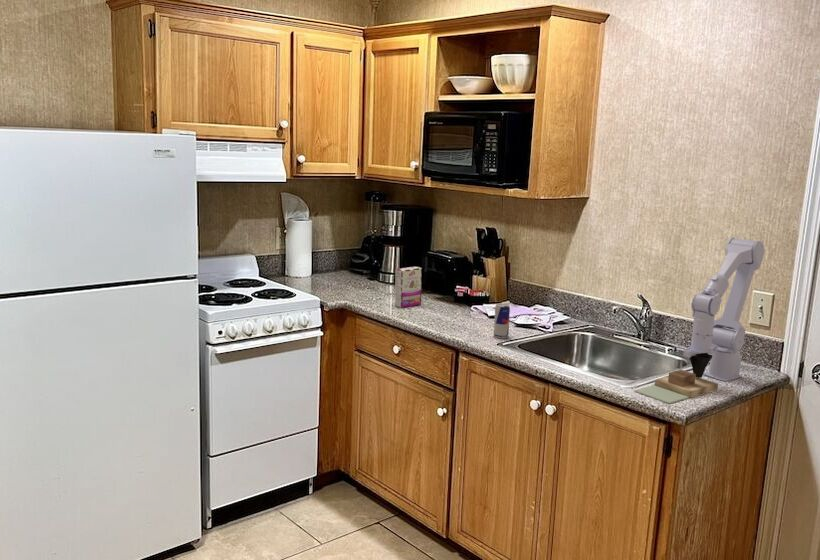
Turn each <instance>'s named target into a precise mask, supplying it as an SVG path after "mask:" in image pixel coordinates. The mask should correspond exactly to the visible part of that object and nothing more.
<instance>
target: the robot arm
mask: <svg viewBox="0 0 820 560" xmlns="http://www.w3.org/2000/svg"><path fill="white" fill-rule="evenodd" d="M724 249H725V251H724V253H725V254H724V255H725V257H724V260H723V261H722V264H721V265H720V267H719V269H718V272H717V273H716V274H714V275H711V276H710V277H709V279H708V281H707V283H706V284H705V286H704V287H703V289H702V290H701V292H700V293H698V294H697V293H696V294H695V295H694V297H693V298H692V302H691V304H690V305H691V310H692V317H693V323H692V333H691V342H690V346H689V347H687V348H686V349H684V350H683V352H682V353H683V354H682V356H683V357H684V358H687V359H689V361H690V364H691V367H692V373H694V374H696V377H698V378H702V377H703V376H706V377H709V378H713V379H715V380H720V381H723V382H728V381H732V380H735V379H739V378H741V377H743V375H741V374H740V371H741V363H742V354H741V352H740V350H741V349H742V348H743V346H744V343H745V335H746V329H745V327H744V326H743V325H742V323H741V322H740V318H741V315H742V312H743V310H744V306H745V302H746V300H747V296H748V294H749V290H750V287H751V284H752V280H753V279H754V278H753V277H754V274H755V271H757V270H759V269H760V268H761V265H762V263H763V259H764V255H765V246H764V243H763V241H761V240H752V239H751V240H750V239H745V238H744V239H742V238H737V237H730V238H729V239H728V240H727V242H726V244H725V248H724ZM734 272H735V274H734ZM733 274H734V277H733V281H732V283H731V284H732V285H731V287H730V283H729V279H731V277H732V275H733ZM729 287H730V291H729V293H728V298H727V300H726V304H725V307H724V310H723V313H722V315H721V317H719V318H715V317H716V315H717V314H718V312H719V310H720V308H721V305H722V301H723V300H722V297H723V296H724V295H725V293H726V291H727V290H728V288H729ZM708 364H709V369H708V371H706V369H707V368H706V367H707V366H708Z"/></svg>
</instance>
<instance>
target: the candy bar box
mask: <svg viewBox="0 0 820 560" xmlns="http://www.w3.org/2000/svg"><path fill="white" fill-rule="evenodd" d="M422 269H423V267H420V266H409V267H401V268H400V267H399V268H395V273H394V276H395V277H394V278H395V279H394V280H395V283H394V286H395V287H394V289H395V290H394V291H395V292H394V307H397V308H400V309H405V308H410V307H416V306H421V305H422V279H423V278H422V274H423V270H422Z"/></svg>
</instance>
